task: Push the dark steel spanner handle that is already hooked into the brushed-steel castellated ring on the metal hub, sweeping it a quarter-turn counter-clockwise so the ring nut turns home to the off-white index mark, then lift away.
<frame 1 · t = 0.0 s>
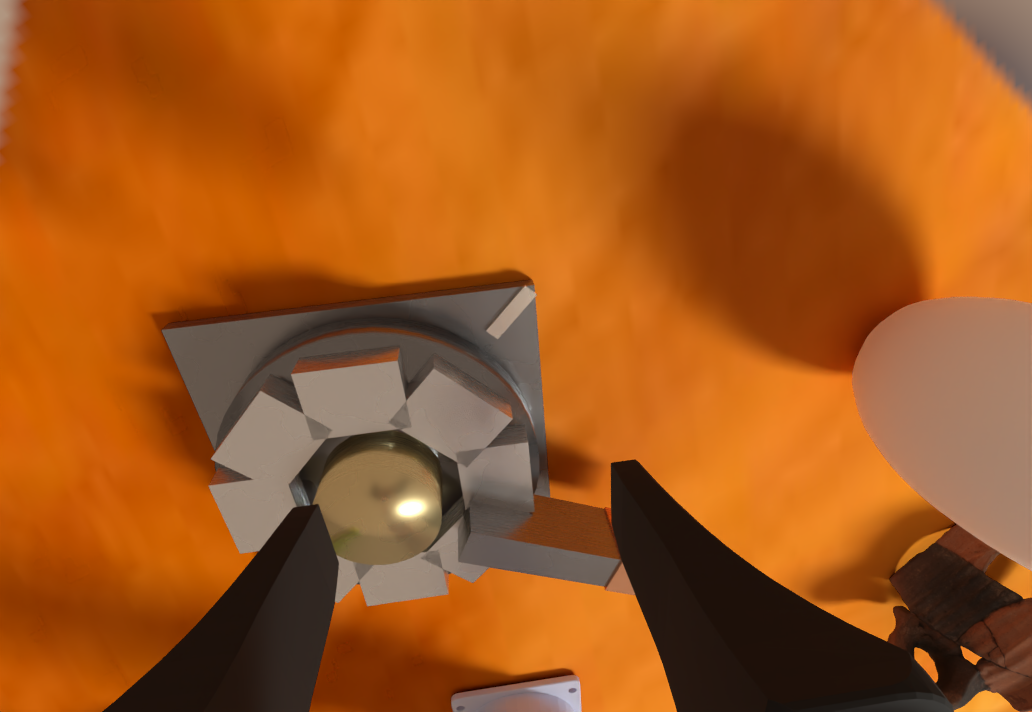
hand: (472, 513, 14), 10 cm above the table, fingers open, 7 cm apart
sauce bottle: (885, 339, 25), on the table
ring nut: (451, 495, 21), point 4 cm above the table, hinge at 0.0°
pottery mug: (938, 577, 34), on the table
hub: (389, 444, 25), on the table
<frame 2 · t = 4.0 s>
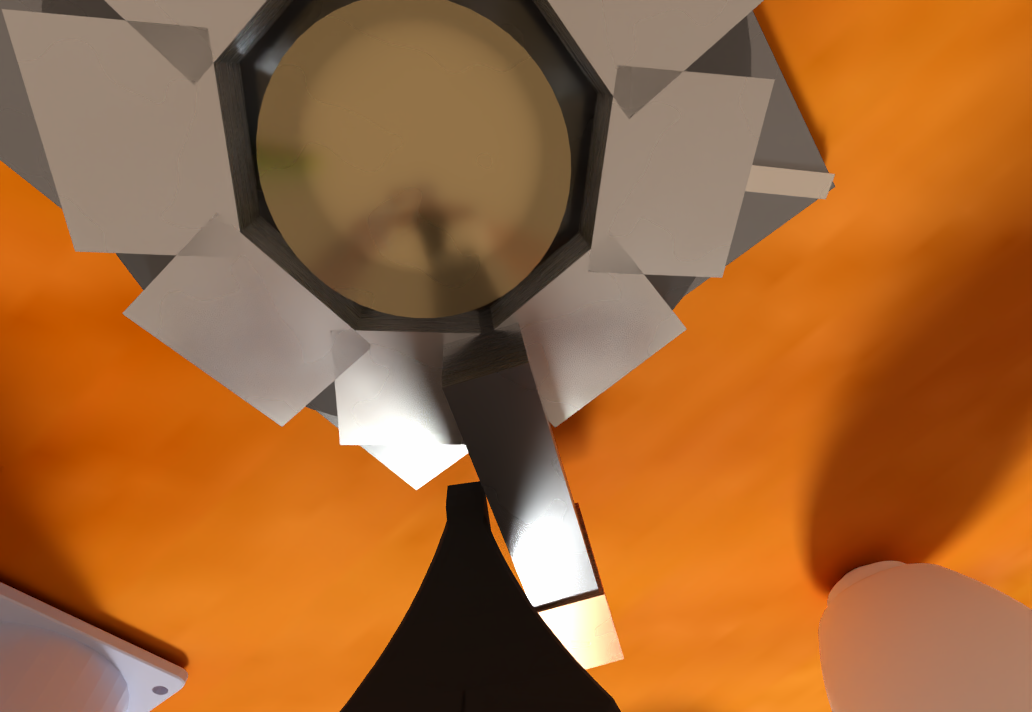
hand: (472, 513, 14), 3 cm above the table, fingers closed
sauce bottle: (857, 576, 22), on the table
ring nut: (526, 285, 10), point 4 cm above the table, hinge at 2.0°, touching gripper
hub: (429, 140, 13), on the table
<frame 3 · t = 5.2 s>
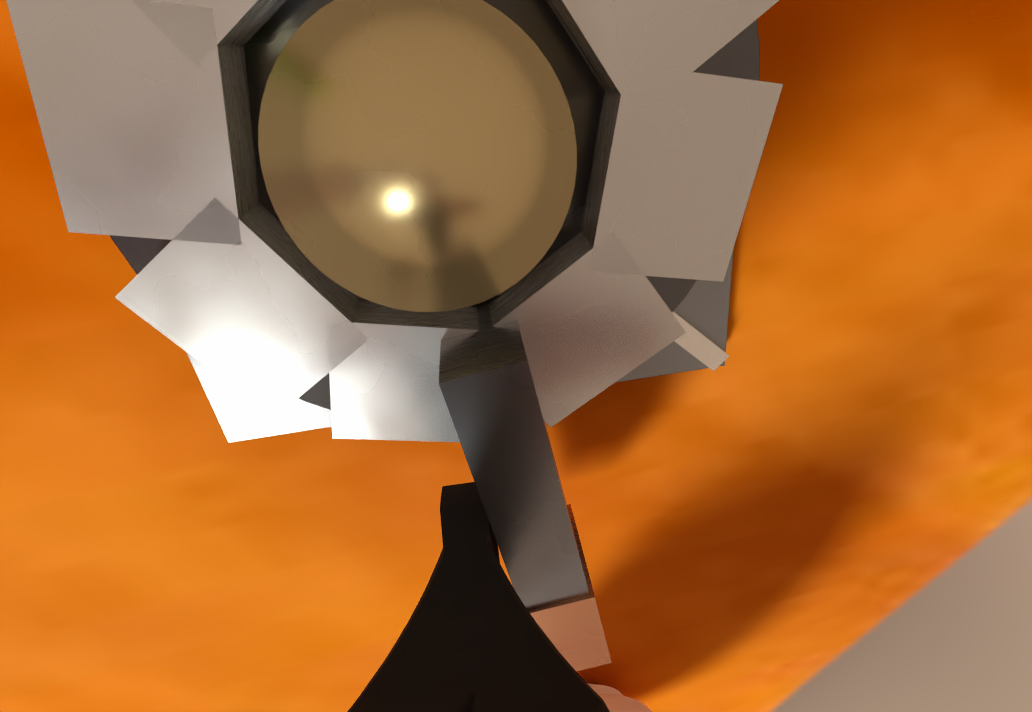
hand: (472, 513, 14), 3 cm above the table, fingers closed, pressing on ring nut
sauce bottle: (579, 691, 24), on the table
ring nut: (527, 282, 10), point 4 cm above the table, hinge at 31.8°, touching gripper
hub: (433, 134, 12), on the table
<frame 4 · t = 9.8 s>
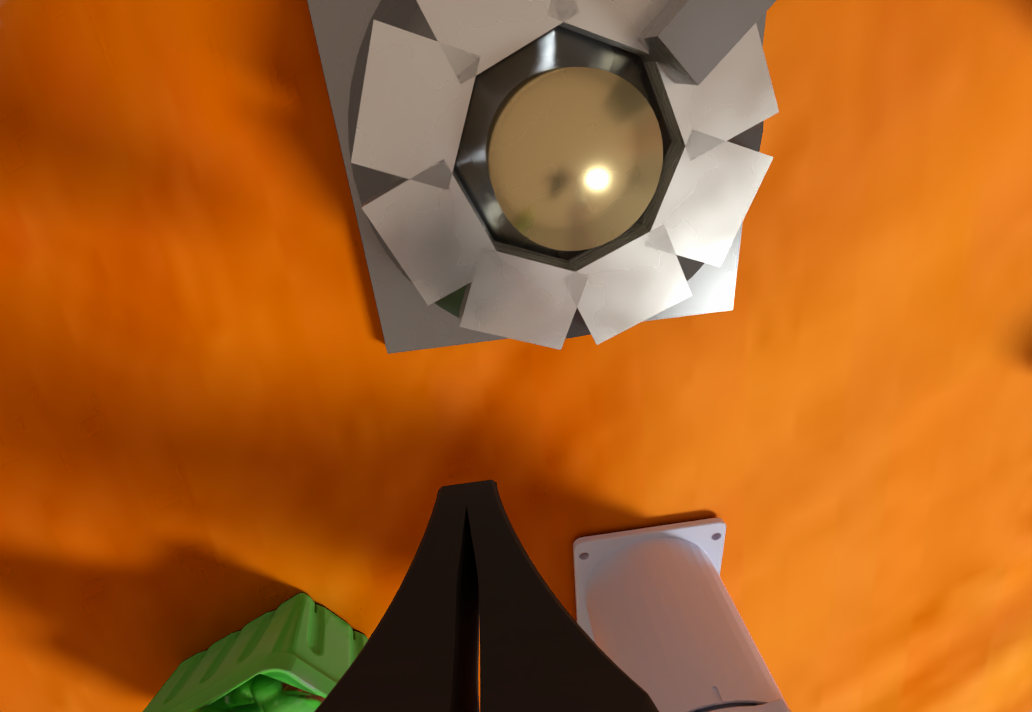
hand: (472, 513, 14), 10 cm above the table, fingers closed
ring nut: (608, 55, 15), point 4 cm above the table, hinge at 68.1°
fruit basket: (268, 641, 30), on the table
hub: (550, 144, 19), on the table
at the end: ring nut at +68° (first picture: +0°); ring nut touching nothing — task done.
